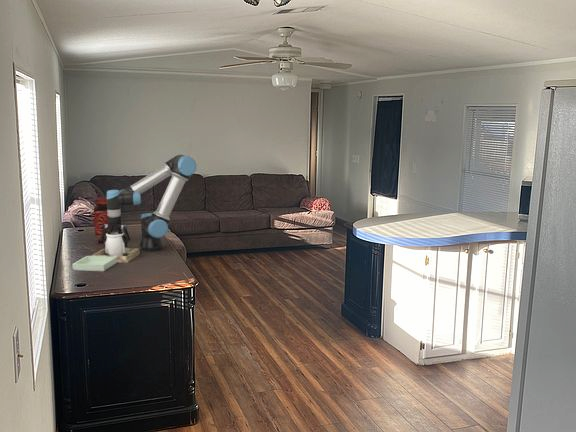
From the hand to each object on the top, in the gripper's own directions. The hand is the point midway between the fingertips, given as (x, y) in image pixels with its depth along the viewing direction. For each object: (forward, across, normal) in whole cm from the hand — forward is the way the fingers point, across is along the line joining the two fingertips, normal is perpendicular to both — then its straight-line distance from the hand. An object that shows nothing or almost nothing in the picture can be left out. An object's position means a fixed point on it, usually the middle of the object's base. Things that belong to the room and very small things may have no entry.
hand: (115, 252), depth 345 cm
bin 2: (+3, 0, 0) cm, 3 cm away
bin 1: (+3, +4, +20) cm, 21 cm away
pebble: (+3, +8, -7) cm, 11 cm away
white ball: (+3, -8, -7) cm, 11 cm away
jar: (+4, 0, 0) cm, 4 cm away
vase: (+4, +22, -36) cm, 42 cm away
